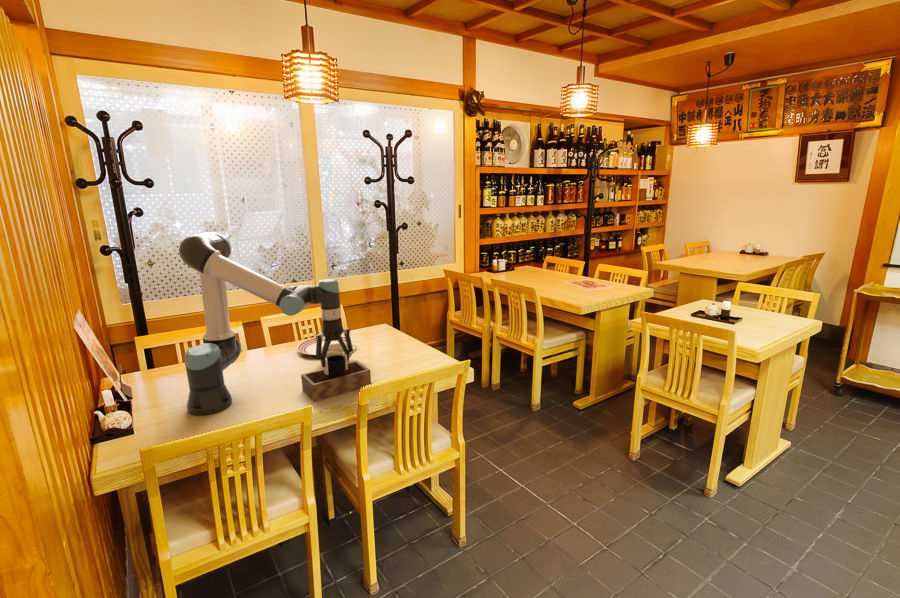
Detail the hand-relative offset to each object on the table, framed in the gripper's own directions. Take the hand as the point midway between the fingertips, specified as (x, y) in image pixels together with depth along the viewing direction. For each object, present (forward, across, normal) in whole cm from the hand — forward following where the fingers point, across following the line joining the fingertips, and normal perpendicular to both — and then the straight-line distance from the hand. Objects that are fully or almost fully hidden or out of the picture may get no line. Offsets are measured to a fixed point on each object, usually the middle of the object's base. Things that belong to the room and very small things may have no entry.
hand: (336, 371), depth 183 cm
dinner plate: (+8, +14, +48) cm, 51 cm away
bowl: (+8, +11, +25) cm, 28 cm away
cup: (+7, 0, 0) cm, 7 cm away
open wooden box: (+7, 0, 0) cm, 7 cm away
